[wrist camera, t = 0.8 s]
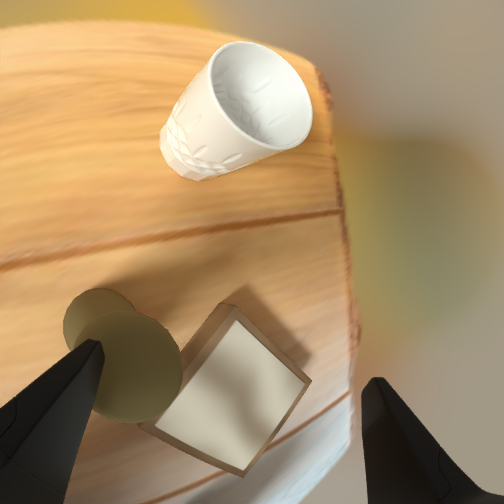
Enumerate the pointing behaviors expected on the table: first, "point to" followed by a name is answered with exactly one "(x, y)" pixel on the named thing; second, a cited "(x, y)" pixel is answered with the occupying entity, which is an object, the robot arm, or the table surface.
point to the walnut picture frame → (230, 394)
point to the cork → (126, 356)
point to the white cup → (236, 113)
